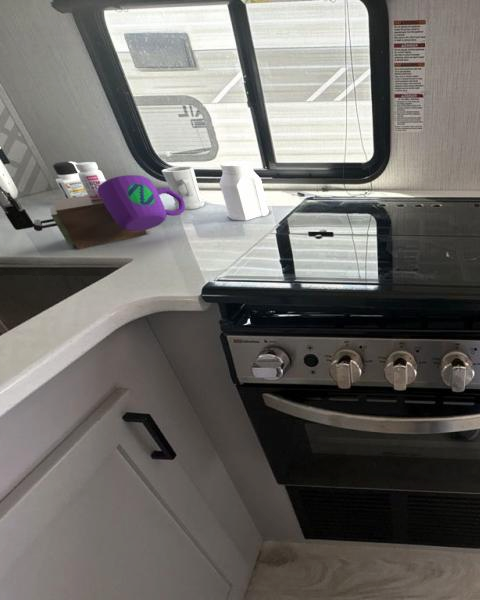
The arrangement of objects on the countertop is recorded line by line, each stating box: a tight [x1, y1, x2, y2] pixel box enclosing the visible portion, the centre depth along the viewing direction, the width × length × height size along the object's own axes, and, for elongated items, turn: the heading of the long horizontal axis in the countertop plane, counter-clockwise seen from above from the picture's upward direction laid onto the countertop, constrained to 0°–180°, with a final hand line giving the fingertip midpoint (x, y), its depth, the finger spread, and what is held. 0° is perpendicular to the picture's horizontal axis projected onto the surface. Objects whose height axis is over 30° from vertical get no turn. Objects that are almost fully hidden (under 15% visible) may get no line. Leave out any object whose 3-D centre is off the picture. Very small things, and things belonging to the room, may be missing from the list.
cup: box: [161, 166, 206, 211], centre depth 108 cm, size 10×9×12 cm
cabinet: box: [53, 195, 148, 250], centre depth 87 cm, size 15×13×10 cm
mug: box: [98, 174, 186, 231], centre depth 84 cm, size 17×11×10 cm
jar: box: [218, 160, 269, 221], centre depth 99 cm, size 12×10×15 cm
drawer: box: [33, 204, 76, 247], centre depth 85 cm, size 18×11×8 cm, turn 133°
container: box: [52, 161, 88, 199], centre depth 117 cm, size 8×8×13 cm
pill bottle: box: [75, 161, 107, 200], centre depth 83 cm, size 5×5×8 cm
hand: (25, 227), depth 78 cm, fingers closed
